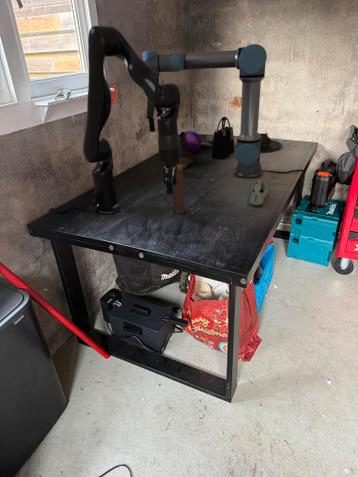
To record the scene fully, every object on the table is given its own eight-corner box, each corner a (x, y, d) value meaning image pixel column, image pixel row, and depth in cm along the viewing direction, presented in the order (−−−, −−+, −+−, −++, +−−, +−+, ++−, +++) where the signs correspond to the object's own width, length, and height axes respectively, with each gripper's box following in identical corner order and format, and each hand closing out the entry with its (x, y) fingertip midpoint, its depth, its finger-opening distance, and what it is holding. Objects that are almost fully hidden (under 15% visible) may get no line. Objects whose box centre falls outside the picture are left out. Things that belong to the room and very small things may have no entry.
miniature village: (250, 138, 260) (251, 126, 256) (289, 145, 237) (291, 132, 233) (223, 147, 242) (223, 134, 237) (263, 155, 219) (264, 141, 215)
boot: (196, 157, 223) (195, 127, 213) (189, 169, 203) (188, 135, 192) (183, 157, 225) (182, 127, 215) (176, 168, 204) (174, 136, 194)
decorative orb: (204, 151, 235) (204, 129, 228) (194, 156, 225) (193, 134, 217) (186, 149, 243) (186, 128, 235) (175, 154, 232) (174, 132, 224)
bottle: (174, 214, 149) (171, 168, 138) (175, 209, 153) (172, 165, 142) (184, 214, 149) (182, 168, 138) (185, 209, 153) (182, 165, 142)
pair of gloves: (199, 150, 238) (199, 143, 235) (184, 143, 258) (184, 136, 255) (235, 144, 247) (235, 137, 245) (218, 137, 268) (218, 131, 265)
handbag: (222, 159, 215) (223, 120, 203) (210, 158, 220) (210, 119, 207) (235, 151, 230) (236, 114, 218) (223, 150, 234) (224, 113, 222)
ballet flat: (269, 188, 169) (270, 173, 165) (265, 208, 149) (266, 191, 145) (252, 187, 171) (253, 172, 167) (246, 206, 151) (247, 190, 147)
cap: (171, 171, 139) (171, 167, 138) (172, 167, 143) (172, 164, 142) (182, 170, 139) (182, 167, 138) (182, 167, 142) (182, 164, 142)
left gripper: (162, 141, 123) (165, 182, 131) (154, 151, 111) (158, 196, 119) (182, 141, 122) (184, 182, 130) (176, 151, 109) (178, 196, 118)
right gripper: (153, 83, 178) (157, 124, 189) (137, 88, 157) (141, 134, 168) (167, 82, 176) (169, 123, 187) (151, 88, 156) (155, 134, 166)
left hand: (171, 189), depth 124 cm, fingers open, 8 cm apart
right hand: (156, 128), depth 177 cm, fingers open, 13 cm apart
